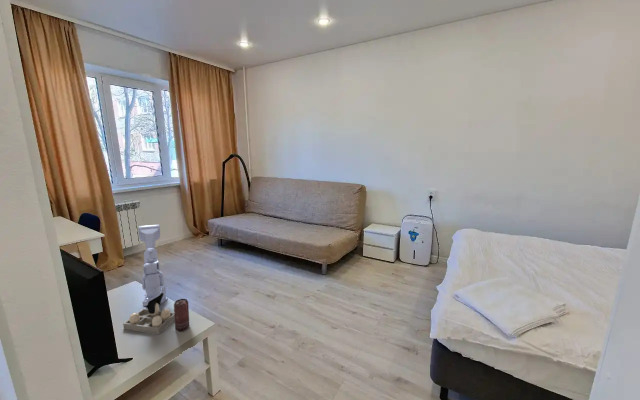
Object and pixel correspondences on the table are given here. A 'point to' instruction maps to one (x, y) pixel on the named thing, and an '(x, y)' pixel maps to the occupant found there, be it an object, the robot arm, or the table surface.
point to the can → (181, 315)
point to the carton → (148, 323)
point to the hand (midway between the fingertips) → (154, 310)
